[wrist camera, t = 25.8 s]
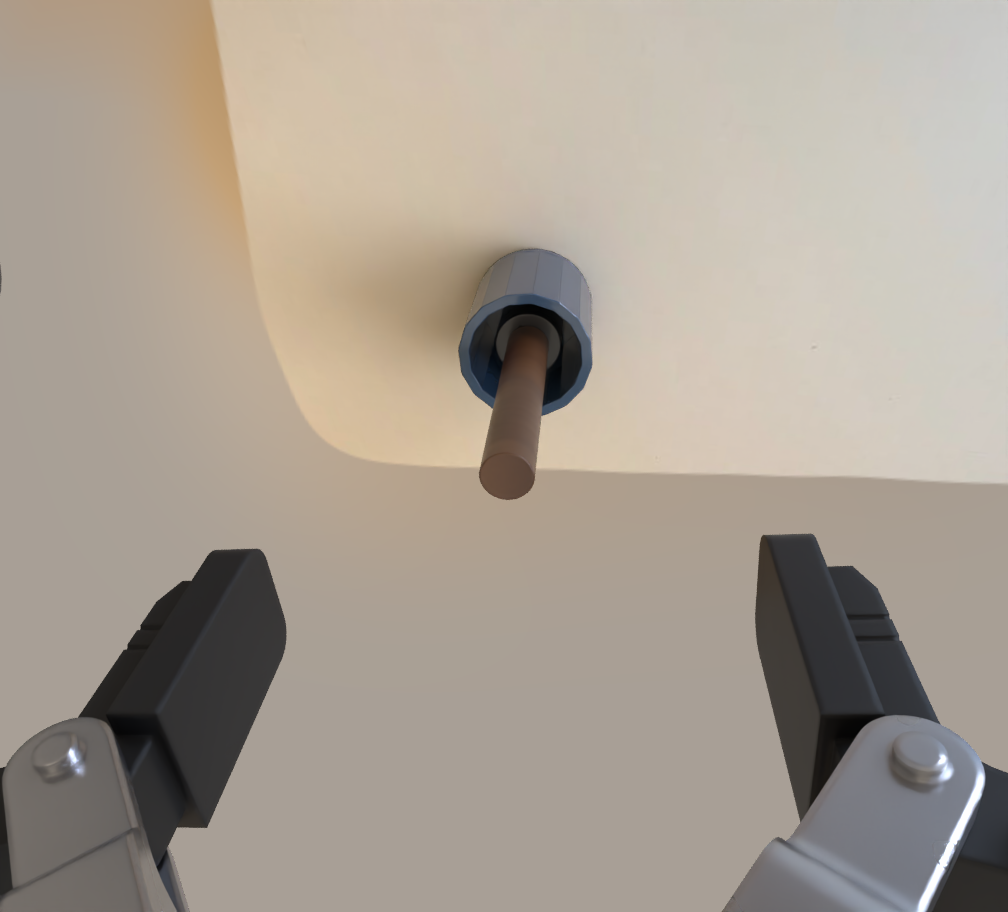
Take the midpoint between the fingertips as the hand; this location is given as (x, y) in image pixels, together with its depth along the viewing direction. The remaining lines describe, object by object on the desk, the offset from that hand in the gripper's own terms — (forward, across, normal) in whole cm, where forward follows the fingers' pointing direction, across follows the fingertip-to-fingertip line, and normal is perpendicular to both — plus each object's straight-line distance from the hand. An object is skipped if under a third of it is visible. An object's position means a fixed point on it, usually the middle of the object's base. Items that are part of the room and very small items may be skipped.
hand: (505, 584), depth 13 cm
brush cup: (+32, +2, +7) cm, 33 cm away
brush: (+32, +2, +7) cm, 32 cm away
